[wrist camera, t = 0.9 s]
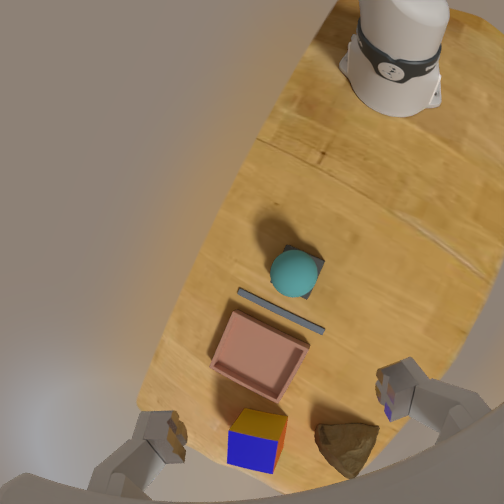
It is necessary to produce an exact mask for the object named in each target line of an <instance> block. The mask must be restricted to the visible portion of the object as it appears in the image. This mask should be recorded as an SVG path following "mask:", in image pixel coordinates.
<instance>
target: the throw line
mask: <svg viewBox="0 0 504 504" xmlns="http://www.w3.org/2000/svg"><path fill="white" fill-rule="evenodd" d="M238 295H240V296H242V297H244V298H246V299H248V300H250V301H252V302H254V303H256V304H258V305H260V306H262V307H264V308H266V309H268V310H270V311H272V312H274V313H276V314H279V315H281V316H283V317H285V318H287V319H289V320H291V321H293V322H295V323H297V324H299V325H301V326H304V327H306V328H308V329H310V330H312V331H314V332H316V333H318V334H321V335H323V333H324V331H325V329H324V328H322V327H319V326H317V325H315V324H313V323H311V322H309V321H307V320H305V319H302V318H300V317H298V316H296V315H294V314H292V313H290V312H288V311H286V310H284V309H281V308H279V307H277V306H275V305H273V304H271V303H269V302H267V301H265V300H263V299H261V298H259V297H257V296H255V295H253V294H251V293H249V292H247V291H245V290H243V289H241V288H240V289H239V291H238Z"/></svg>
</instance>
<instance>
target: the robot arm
mask: <svg viewBox="0 0 504 504" xmlns="http://www.w3.org/2000/svg"><path fill="white" fill-rule="evenodd" d="M359 5H360V15H361V16H360V18H359V20H358V25H357V29H356V33H357V35H356V34H353V35H352V37H351V40H352V42H349V45H348V52H347V53H346V54H345V56H344V57H343V58H342V60H341V61H340V63H339V69H340V70H341V71H342V72H343V73H344V74H345V75H346V76H347V77H348V79H349V80H350V82H351V85H352V88H353V90H354V92H355V93H356V95H357V96H358V97H359V98H360V99H361V100H362V102H364V103H365V104H366V105H367V106H369V107H370V108H372V109H373V110H375V111H377V112H379V113H382V114H385V115H388V116H393V117H407V116H412V115H414V114H417V113H418V112H420V111H422V110H423V109H425V108H434V107H438V106H440V103H441V86H440V79H441V75H440V73H439V63H438V60H439V58H440V53H441V41H442V38H443V35H444V33H445V30H446V27H447V24H448V21H449V17H450V12H449V7H448V4H447V1H446V0H359ZM347 61H348V62H347ZM434 94H435V95H436V96H435V95H434ZM376 376H377V378H378V381H377V382H376V386H375V390H376V395H377V398H378V400H379V402H380V404H382V405H384V406H385V409H384V412H385V414H386V415H387V417H388V419H389V421H390V422H392V421H394V420H397V419H400V418H402V417H405V416H407V415H409V417H411V418H413V419H415V420H417V421H419V422H420V423H422V424H424V425H426V426H428V427H430V428H431V429H433V430H435V431H437V432H439V433H440V434H439V437H438V439H437V441H436V443H435V445H434V446H432V447H430V448H428V449H426V450H424V451H422V452H419V453H418V454H415V455H413V456H411V457H408V458H406V459H404V460H402V461H399V462H397V463H394V464H392V465H389V466H387V467H384V468H382V469H379V470H376V471H373V472H371V473H368V474H365V475H362V476H359V477H356V478H352V479H349V480H346V481H342V482H339V483H335V484H332V485H328V486H324V487H320V488H316V489H311V490H307V491H302V492H297V493H292V494H286V495H281V496H274V497H268V498H259V499H251V500H240V501H226V502H167V501H153V500H152V499H151V498H150V497H149V496H147V495H146V494H145V493H144V491H145V490H146V489H147V487H148V486H149V485H150V484H151V482H152V481H153V480H154V479H155V477H156V476H157V475H158V474H159V472H160V471H161V470H162V469H163V468H164V466H165V464H170V463H171V464H173V463H184V461H185V455H186V450H185V449H184V447H183V446H184V445H185V444H186V443H187V438H188V436H187V430H186V427H185V425H184V423H183V422H181V421H180V420H179V415H178V413H177V411H142V412H141V413H140V414H139V417H138V420H137V423H136V427H135V430H134V433H133V436H132V440H128V441H126V443H124V444H123V445H122V446H121V447H120V448H118V449H117V450H116V451H115V452H114V453H112V455H110V456H109V457H108V458H107V459H105V460H104V461H103V462H102V463H101V464H99V465H98V466H97V467H96V468H95V469H94V471H93V474H92V477H91V480H90V483H89V486H88V489H87V490H84V489H79V488H75V487H71V486H68V485H64V484H61V483H57V482H54V481H51V480H48V479H45V478H42V477H39V476H36V475H33V474H30V473H23V474H21V475H19V476H17V477H15V478H14V479H12V480H10V481H9V482H7V483H6V484H4V485H3V486H2V487H1V488H0V504H504V402H503V403H502V404H500V405H499V406H498V407H496V408H495V409H494V410H491V409H490V408H489V406H488V405H487V404H486V403H485V402H484V401H483V399H482V398H481V397H480V396H479V394H478V393H476V392H473V391H470V390H467V389H463V388H460V387H457V386H454V385H451V384H448V383H445V382H442V381H439V380H436V379H433V378H432V379H429V378H428V377H427V375H426V374H425V373H424V372H423V370H422V369H421V368H420V367H419V366H418V364H417V363H416V362H415V361H414V359H413V358H412V357H408V358H406V359H403V360H400V361H398V362H395V363H392V364H390V365H387V366H384V367H382V368H379V369H378V370H377V373H376Z"/></svg>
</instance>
